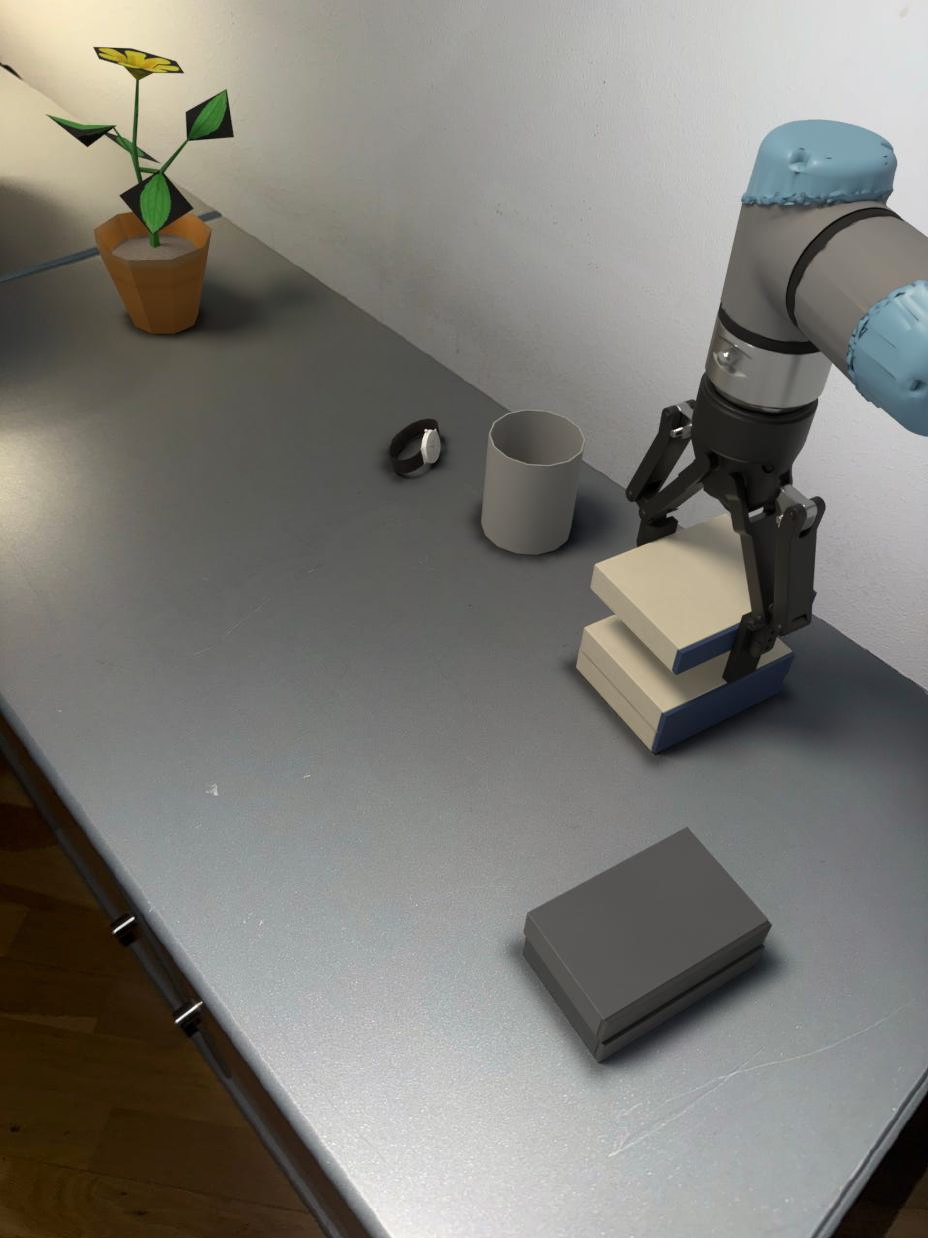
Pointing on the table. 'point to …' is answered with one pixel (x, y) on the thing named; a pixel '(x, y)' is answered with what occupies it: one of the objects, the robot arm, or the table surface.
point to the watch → (428, 448)
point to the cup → (531, 481)
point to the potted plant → (156, 213)
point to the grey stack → (643, 941)
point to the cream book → (680, 592)
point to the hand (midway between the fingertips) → (691, 628)
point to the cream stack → (670, 684)
